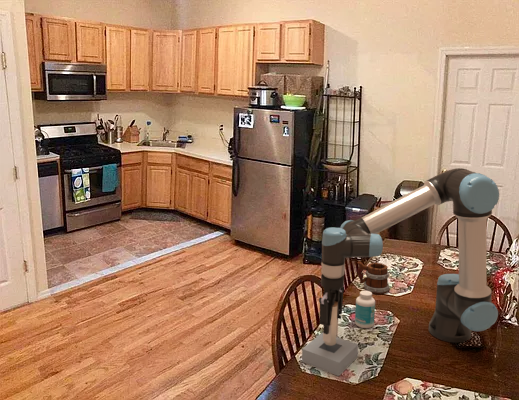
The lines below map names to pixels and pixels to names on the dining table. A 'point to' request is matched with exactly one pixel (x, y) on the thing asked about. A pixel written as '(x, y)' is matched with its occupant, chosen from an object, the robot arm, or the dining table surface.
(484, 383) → the dining table surface
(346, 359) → the socket
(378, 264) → the mug
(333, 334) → the peg
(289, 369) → the dining table surface
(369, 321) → the pill bottle
